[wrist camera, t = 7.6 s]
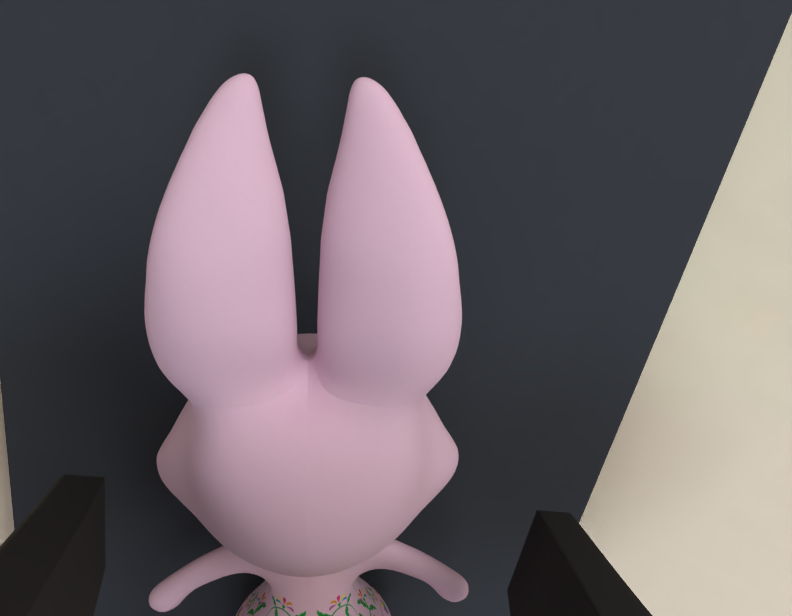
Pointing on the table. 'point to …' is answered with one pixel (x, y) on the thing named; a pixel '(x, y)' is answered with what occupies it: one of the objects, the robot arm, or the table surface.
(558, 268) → the desk mat
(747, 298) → the table surface
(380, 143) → the rabbit figure
